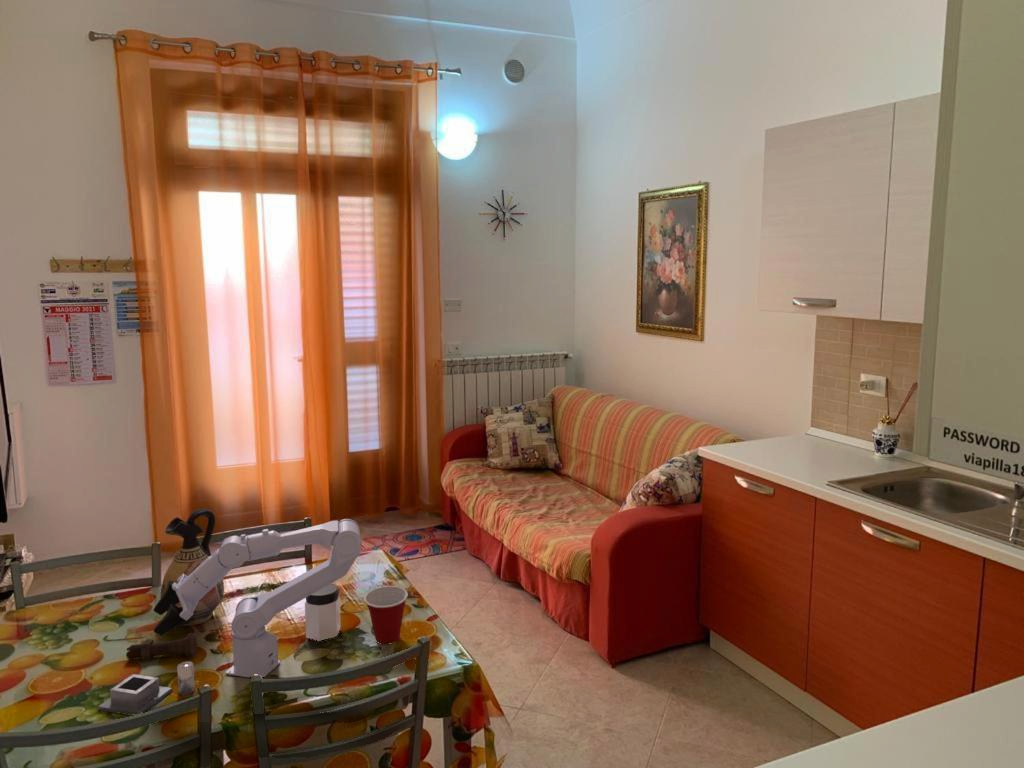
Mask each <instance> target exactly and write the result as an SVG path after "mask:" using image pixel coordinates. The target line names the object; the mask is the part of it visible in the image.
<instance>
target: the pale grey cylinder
mask: <svg viewBox="0 0 1024 768" xmlns="http://www.w3.org/2000/svg"><path fill="white" fill-rule="evenodd" d="M176 669H177V686H178V694H179V695H181V696H186V695H190V694H192V693H193V692H195V688H196V687H195V673H194V662H192V661H183V662H181V663H179V664H178V665H177V666H176Z"/></svg>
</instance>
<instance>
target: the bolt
mask: <svg viewBox="0 0 1024 768" xmlns="http://www.w3.org/2000/svg"><path fill="white" fill-rule="evenodd" d="M197 650H198V638H197V635H196V633H194V632H188V633H187V635H186V637H185V638H181V639H176V640H166V641H160V642H159V641H156V642H155V641H154V640H153V639H152V638H148V639H145V640H144V641H143V642H142V643H137V644H131V645H130V646H129V647H127V648H126V653H125V654H126V657H127V658H128V659H129V660H131V659H132V660H133V659H142V660H143V661H145V662H146V661H151V660H152V659H153V658H154V657H161V656H170V655H171V656H172V655H184V654H185V656H186V659H191V658H194V657H195V656H196V654H197Z"/></svg>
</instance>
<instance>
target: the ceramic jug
mask: <svg viewBox="0 0 1024 768" xmlns="http://www.w3.org/2000/svg"><path fill="white" fill-rule="evenodd" d="M202 517H205V518H207V525H206V528H205V533H204V535H203V538H202V541H201V543H200V541H199V539H198V538H197V536H198V535H199V534H202V533H203V532H204V529H203V528H202V526H200V525H199V524H198V523H196V522H195V521H196V520H197V519H198V518H202ZM215 526H216V517H215V514H214V513H213V512H212V510H210V509H208V508H204V507H203V508H198V509H195V510H194V511H192V512H191V513H190V514H189V516H188V518H187V520H186V521H184V520H182V519H181V518H180V517H178V516H177V517H174V518H173V519H172V520H171V521H170V522H169V524H167V526H166V528H165V531H164V532H165V534H166V535H171V536H178V537H181V538H182V539H183V541H182V545H181V546H180V549H179V550H178V552H177V553H176V555H175V556H174V557H173V559H172V561H171V562H170V564H169V566H168V568H167V569H166V571H165V574H164V576H163V579H162V583H161V587H160V598H161V597H162V596H163V594H164V592H165V590H166V588H167V586H168V583H169V581H173V582H175V583H176V582H177V583H178V581H177V579H178V578H179V577H180V576H181V575H182V574H185V575H186V576H189V575H190V574H191V573H192V572H193V571H194V570H195V569H196V568H197V567H198V566H199V565H201V564H202V563H203V562H204V561H205V560H206V559H207V558H208V557H209V556H211V555H212V554H211V553H212V552H211V549H210V543H211V540H212V535H213V533H214V527H215ZM224 585H225V583H224V578H223V579H222V580H221V581H219V582H218V583H217V584H216V585H215V586H214V587H213V588H212V589H211V590H210V591H209V592H208V593H207V594H206V595H205V596H203V597H202V598H201V599H200V600H199V602H198V604H197V606H196V607H195V609H194V611H193V615H192V616H191V622H190V623H189V624H185V625H181V626H182V627H183V626H184V627H191V626H196V625H200V624H203V623H205V622H207V621H208V620H210V619H211V618H212V616H213V615H214V611H215V610H216V608H217V607H219V604H221V602H222V600H223V597H224V593H225V586H224ZM175 606H177V607H179V608H180V607H181V603H180V602H179V603H177V604H176V605H175ZM226 607H227V606H226ZM181 626H180V627H181Z"/></svg>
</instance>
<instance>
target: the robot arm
mask: <svg viewBox="0 0 1024 768" xmlns="http://www.w3.org/2000/svg"><path fill="white" fill-rule="evenodd" d="M221 542H222V543H221V544H220V548H218V549H216V550H215V551H214V552H213V553H212V554H211V556H209V557H208V558H207V559H206V560H205V561H204V562H203V563H202V564H201V565H199V566H198V567H197V568H196V569H195V570H194V571H193V572H192V573H191V574H190V575H189V576H186V575H185V574H182V575H181V576H180V577H179V578H178V579H177V581H178V583H177V582H176V583H175V582H173V581H169V583H168V586H167V588H166V590H165V592H164V594H163V596H162V597H161V596H160V599H159V600H158V602H157V603H156V605H155V606H154V608H153V612H155V613H156V614H158V615H160V616H162V615H164V614H165V613H166V614H165V615H164V616H163V617H162V619H161V620H160V621H159V622H158V623H157V624H156V626H155V627H154V628H153V633H155V634H157V635H159V636H160V637H162V636H163V635H165V634H167V633H168V632H171V631H172V630H174V629H176V628H178V627H181V625H185V624H189V623H190V622H191V616H192V615H193V611H194V609H195V607H196V606H197V604H198V602H199V600H200V599H201V598H202V597H203V596H205V595H206V594H207V593H208V592H209V591H210V590H211V589H212V588H213V587H214V586H215V585H216V584H217V583H218V582H219V581H221V580H222V579H223V580H224V578H225V577H226V576H227V575H228V573H229V572H230V571H232V570H233V569H234V568H235V569H237V568H239V567H241V566H242V565H243V564H244V563H245V562H247V561H248V562H251V561H255V560H259V559H260V560H261V559H266V558H269V557H275V556H278V555H279V554H280V553H281V551H282V550H284V549H288V548H296V547H302V546H310V545H316V544H318V545H320V546H322V547H323V548H325V549H327V550H331V552H330V555H329V559H327V560H325V561H324V562H321V563H320V564H318V565H316V566H315V567H313V568H311V569H309V570H307V571H306V572H303V573H302V574H300V575H298V576H297V577H294V578H292V579H291V580H289V581H287V582H285V583H284V584H282V585H281V586H278V587H277V588H275V589H273V590H271V591H269V592H261V593H259V594H257V595H254V596H247V597H244V598H242V599H241V600H240V601H239V602H238V603H237V605H236V608H235V612H234V613H235V614H234V617H233V619H232V621H231V626H230V627H231V631H232V632H231V635H232V637H231V638H232V639H231V640H232V657H233V665H232V666H231V667H230V668H229V669H228V670H226V671H225V674H226V675H230V676H238V677H244V678H250V676H252V675H254V674H258V675H261V676H262V677H264V678H265V677H266V676H267V675H268V674H269V673H271V672H272V671H273V670H274V669H275V668H276V667H278V665H280V664H281V660H279V651H278V650H279V646H278V638H277V636H276V635H275V634H274V633H271V632H269V631H267V629H266V626H267V625H268V624H269V623H270V622H271V621H272V620H273V619H274V618H275V617H276V615H277V614H279V613H281V612H282V611H284V610H287V609H288V608H290V607H292V606H294V605H295V604H297V603H299V602H301V601H303V600H305V599H306V597H308V596H310V595H312V594H313V593H315V592H317V591H319V590H320V589H322V588H324V587H326V586H328V585H329V584H334V583H335V582H337V581H338V580H340V579H342V578H344V577H345V576H346V575H347V574H348V572H349V571H350V570H351V568H352V567H353V564H354V563H355V561H356V559H357V558H358V557H360V555H361V547H362V539H361V530H360V526H359V524H358V522H357V521H355V520H353V519H350V518H344V519H341V520H340V521H339V520H331V521H328V522H327V521H326V522H325V523H321V524H318V525H313V526H309V527H304V528H300V529H297V530H292V531H288V532H285V533H279V532H278V531H276V530H270V529H269V528H266V529H262V531H261V532H258V533H253V534H247V535H246V534H245V533H244V534H243V533H242V534H241V535H240V536H239V535H230V536H228V537H225V538H224V539H223V540H222V541H221ZM331 546H332V547H331ZM179 602H180V603H181V607H180V608H179V607H177V606H175V605H176V604H177V603H179ZM250 679H251V678H250Z"/></svg>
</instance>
